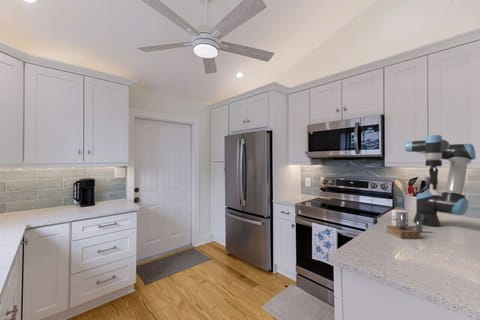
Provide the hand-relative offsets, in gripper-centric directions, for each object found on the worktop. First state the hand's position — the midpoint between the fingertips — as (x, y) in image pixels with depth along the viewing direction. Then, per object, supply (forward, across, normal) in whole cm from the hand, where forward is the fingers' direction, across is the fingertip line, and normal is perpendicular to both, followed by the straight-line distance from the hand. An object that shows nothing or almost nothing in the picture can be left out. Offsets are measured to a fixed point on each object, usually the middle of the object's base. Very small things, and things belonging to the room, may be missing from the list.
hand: (433, 193), depth 131 cm
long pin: (+27, +10, -15) cm, 32 cm away
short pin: (+27, -5, -7) cm, 28 cm away
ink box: (+27, -9, -17) cm, 33 cm away
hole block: (+27, +10, -15) cm, 32 cm away
